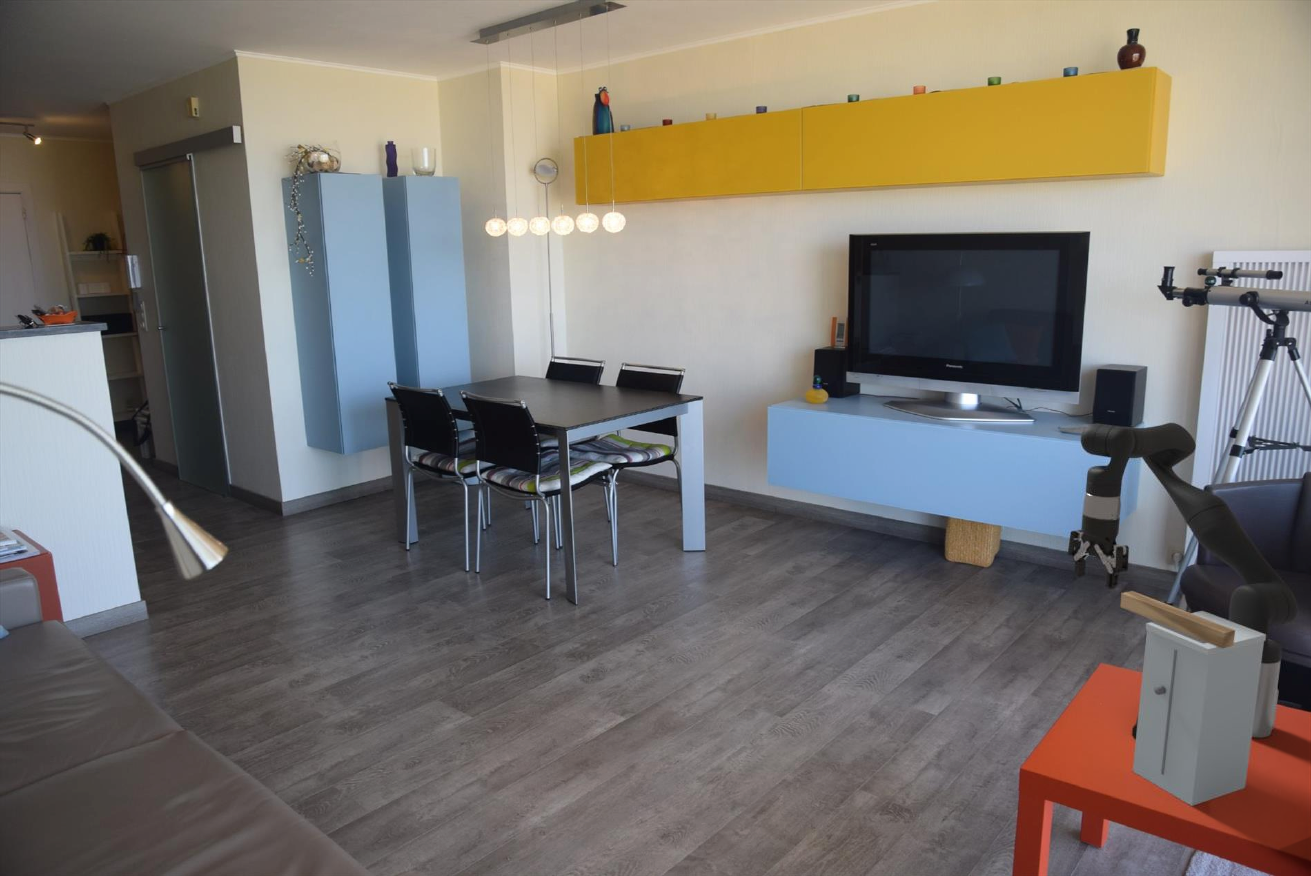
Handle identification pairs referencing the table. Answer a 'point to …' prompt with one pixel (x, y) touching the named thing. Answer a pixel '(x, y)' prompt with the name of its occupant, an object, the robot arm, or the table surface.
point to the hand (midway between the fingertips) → (1095, 582)
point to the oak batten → (1178, 619)
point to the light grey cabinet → (1197, 711)
